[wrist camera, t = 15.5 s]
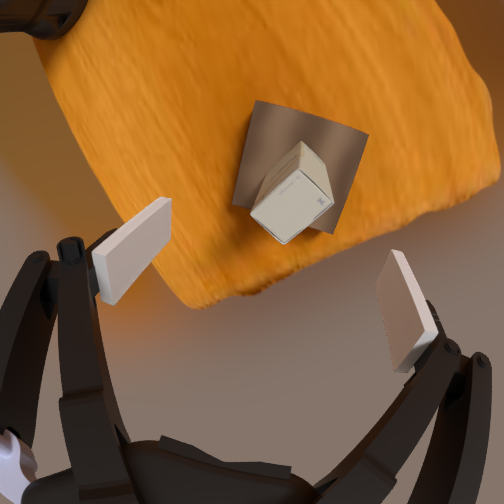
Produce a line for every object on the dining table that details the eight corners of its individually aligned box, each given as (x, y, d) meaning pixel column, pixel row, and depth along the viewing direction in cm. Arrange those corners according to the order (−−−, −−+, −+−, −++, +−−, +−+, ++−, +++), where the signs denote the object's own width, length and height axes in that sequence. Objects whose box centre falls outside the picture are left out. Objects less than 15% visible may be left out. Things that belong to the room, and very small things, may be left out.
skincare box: (301, 139, 31) (299, 163, 21) (326, 165, 32) (337, 202, 22) (265, 173, 34) (246, 213, 24) (290, 198, 35) (283, 247, 25)
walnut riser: (240, 192, 41) (231, 204, 37) (262, 101, 34) (255, 100, 30) (330, 219, 41) (332, 234, 37) (361, 131, 33) (368, 134, 29)
